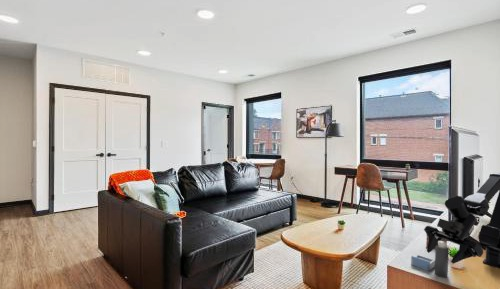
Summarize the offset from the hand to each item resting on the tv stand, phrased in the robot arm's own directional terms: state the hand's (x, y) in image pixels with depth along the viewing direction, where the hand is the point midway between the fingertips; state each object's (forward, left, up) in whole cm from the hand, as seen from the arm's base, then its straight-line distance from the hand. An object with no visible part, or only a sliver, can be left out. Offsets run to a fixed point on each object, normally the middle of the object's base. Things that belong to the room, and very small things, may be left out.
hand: (439, 257), depth 99 cm
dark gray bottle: (-1, 0, -7) cm, 7 cm away
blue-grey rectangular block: (-10, -7, -7) cm, 14 cm away
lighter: (-25, -8, -7) cm, 27 cm away
